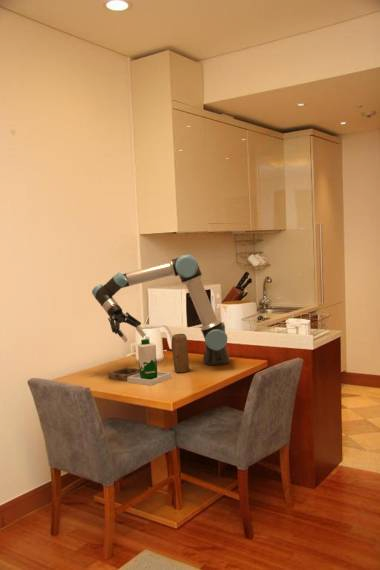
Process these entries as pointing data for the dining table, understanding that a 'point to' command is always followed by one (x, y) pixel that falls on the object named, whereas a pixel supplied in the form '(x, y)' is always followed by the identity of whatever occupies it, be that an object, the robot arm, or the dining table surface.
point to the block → (180, 353)
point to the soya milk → (147, 360)
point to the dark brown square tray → (123, 373)
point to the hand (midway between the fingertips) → (135, 338)
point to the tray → (136, 379)
